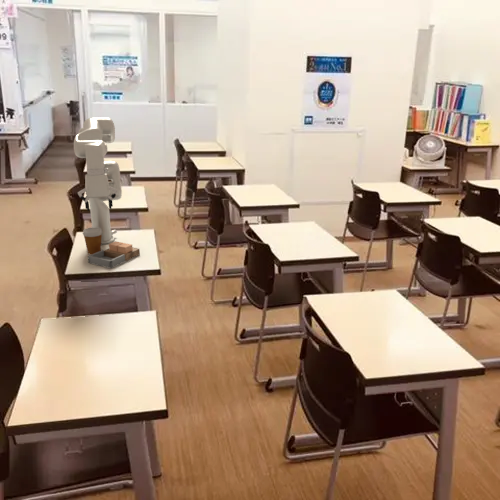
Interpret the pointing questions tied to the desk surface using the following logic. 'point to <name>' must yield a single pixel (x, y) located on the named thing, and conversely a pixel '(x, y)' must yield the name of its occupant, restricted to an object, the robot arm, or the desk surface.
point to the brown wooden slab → (127, 255)
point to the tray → (105, 259)
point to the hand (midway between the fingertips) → (99, 209)
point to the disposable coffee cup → (93, 239)
